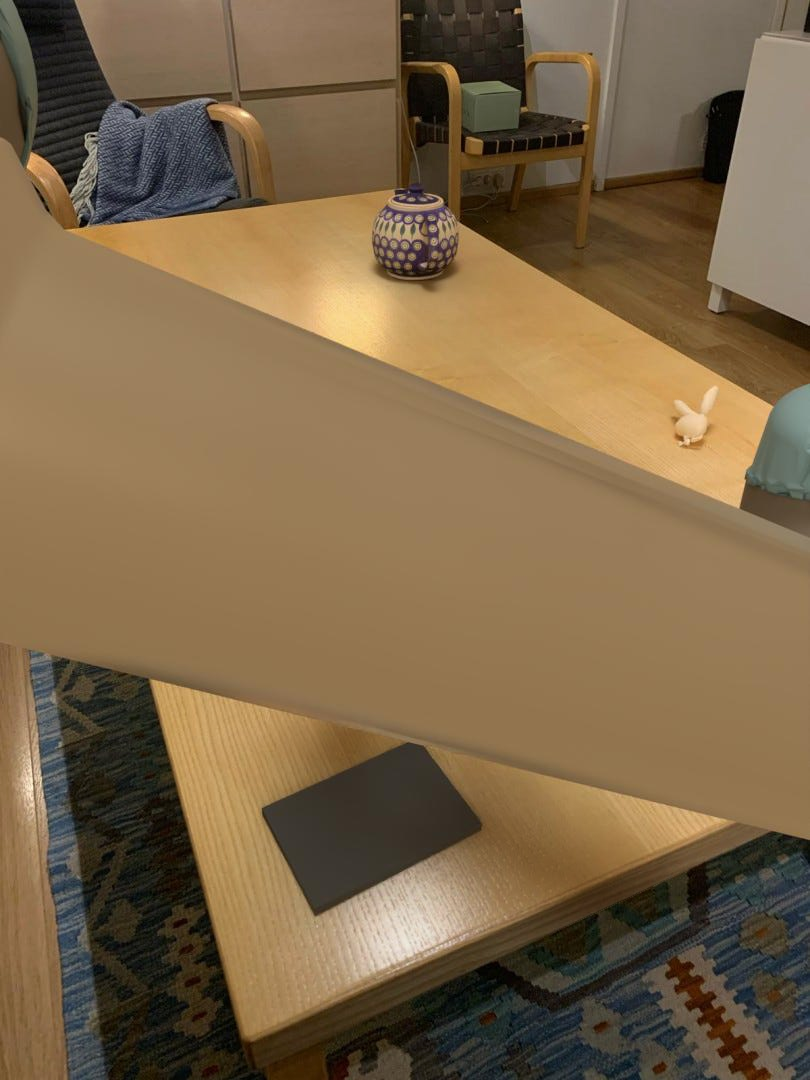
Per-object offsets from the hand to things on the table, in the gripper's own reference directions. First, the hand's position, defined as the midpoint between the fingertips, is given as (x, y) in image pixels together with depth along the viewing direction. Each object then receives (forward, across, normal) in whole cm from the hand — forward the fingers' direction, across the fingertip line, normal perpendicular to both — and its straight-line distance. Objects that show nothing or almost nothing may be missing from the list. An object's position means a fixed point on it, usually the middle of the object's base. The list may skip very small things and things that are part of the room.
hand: (267, 487), depth 58 cm
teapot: (+50, +92, -22) cm, 107 cm away
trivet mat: (-11, -5, -22) cm, 25 cm away
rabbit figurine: (-10, +63, -22) cm, 67 cm away
